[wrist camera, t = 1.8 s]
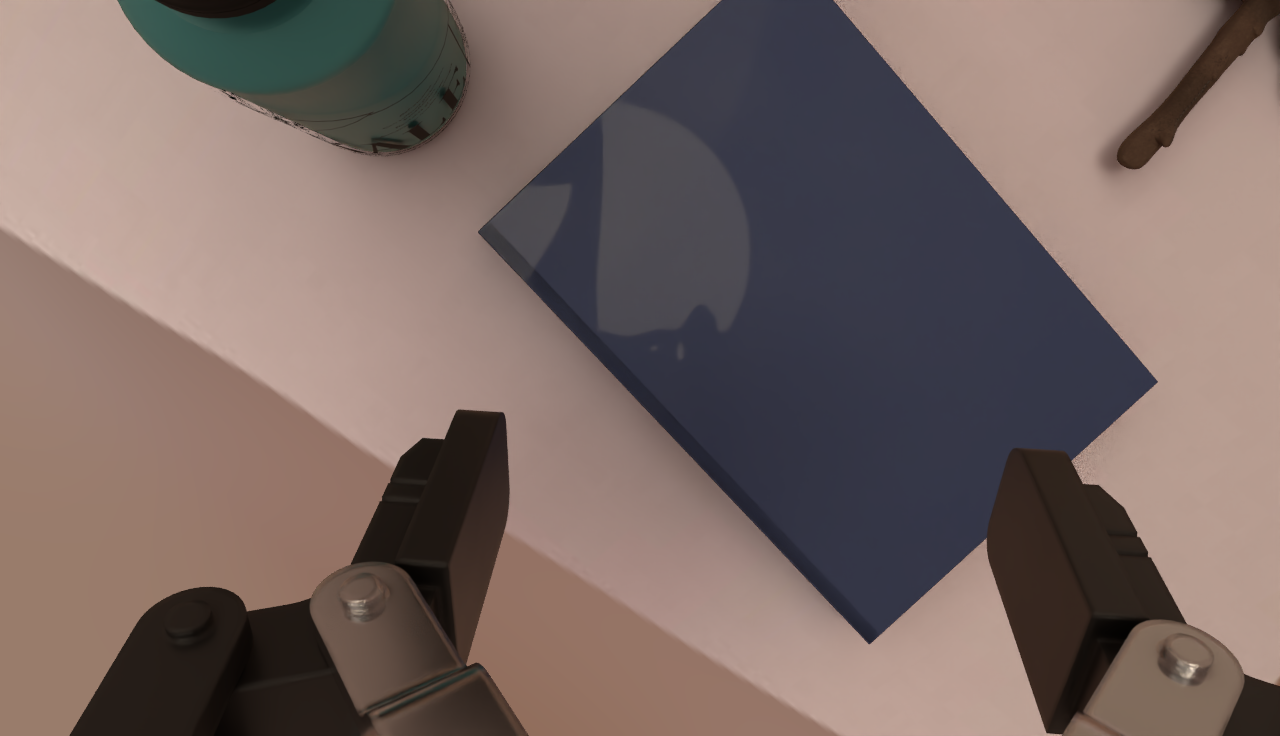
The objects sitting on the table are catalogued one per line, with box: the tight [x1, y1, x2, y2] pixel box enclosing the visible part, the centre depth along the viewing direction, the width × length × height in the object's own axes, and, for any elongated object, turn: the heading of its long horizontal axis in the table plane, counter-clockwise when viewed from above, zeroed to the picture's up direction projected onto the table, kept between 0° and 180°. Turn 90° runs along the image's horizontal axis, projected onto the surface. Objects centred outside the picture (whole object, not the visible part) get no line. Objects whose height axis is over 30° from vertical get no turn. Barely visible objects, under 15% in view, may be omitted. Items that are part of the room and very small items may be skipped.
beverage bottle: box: [118, 0, 470, 156], centre depth 26 cm, size 6×7×20 cm
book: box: [478, 0, 1158, 644], centre depth 36 cm, size 21×14×3 cm
